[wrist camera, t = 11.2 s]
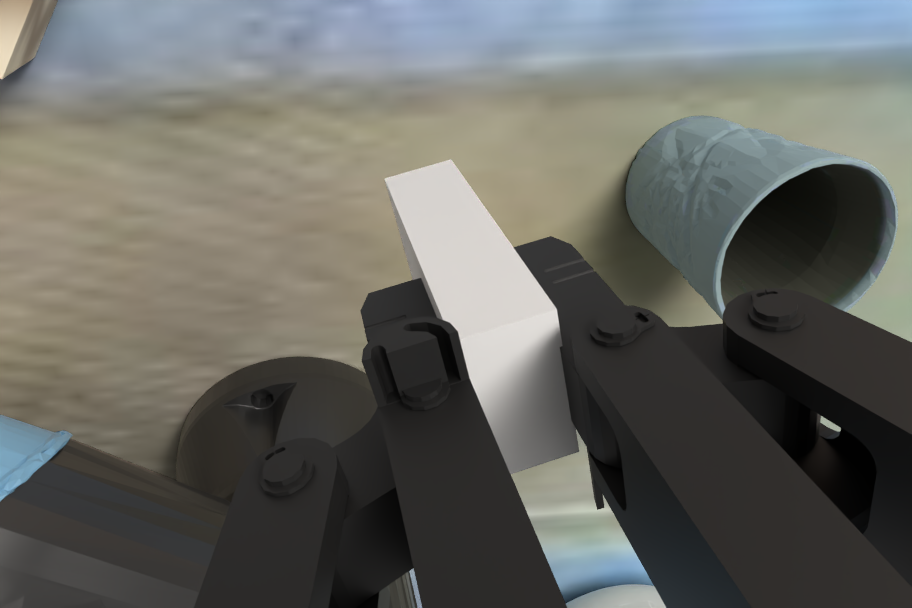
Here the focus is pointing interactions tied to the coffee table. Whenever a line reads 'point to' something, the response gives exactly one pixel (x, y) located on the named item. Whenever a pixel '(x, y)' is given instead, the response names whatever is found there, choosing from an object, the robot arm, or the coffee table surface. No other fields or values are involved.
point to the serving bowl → (620, 598)
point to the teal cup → (761, 212)
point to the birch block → (22, 31)
